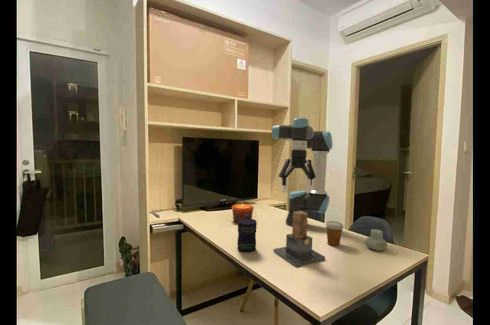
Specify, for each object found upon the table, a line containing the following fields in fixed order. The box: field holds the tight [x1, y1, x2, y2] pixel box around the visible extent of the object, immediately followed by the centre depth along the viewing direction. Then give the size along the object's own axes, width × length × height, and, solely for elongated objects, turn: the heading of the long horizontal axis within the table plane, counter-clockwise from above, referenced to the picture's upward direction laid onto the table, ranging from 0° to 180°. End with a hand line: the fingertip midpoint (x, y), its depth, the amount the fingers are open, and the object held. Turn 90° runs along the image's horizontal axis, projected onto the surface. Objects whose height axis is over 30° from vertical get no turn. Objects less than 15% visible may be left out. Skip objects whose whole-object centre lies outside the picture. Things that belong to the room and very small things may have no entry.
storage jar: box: [236, 218, 257, 254], centre depth 136 cm, size 10×10×15 cm
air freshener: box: [364, 228, 388, 252], centre depth 141 cm, size 11×8×10 cm
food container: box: [231, 203, 255, 224], centre depth 185 cm, size 16×16×11 cm
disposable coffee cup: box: [325, 220, 344, 247], centre depth 145 cm, size 10×10×12 cm
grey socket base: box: [273, 233, 326, 268], centre depth 129 cm, size 18×18×10 cm
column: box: [291, 211, 309, 239], centre depth 129 cm, size 5×5×20 cm
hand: (296, 192), depth 129 cm, fingers open, 13 cm apart
